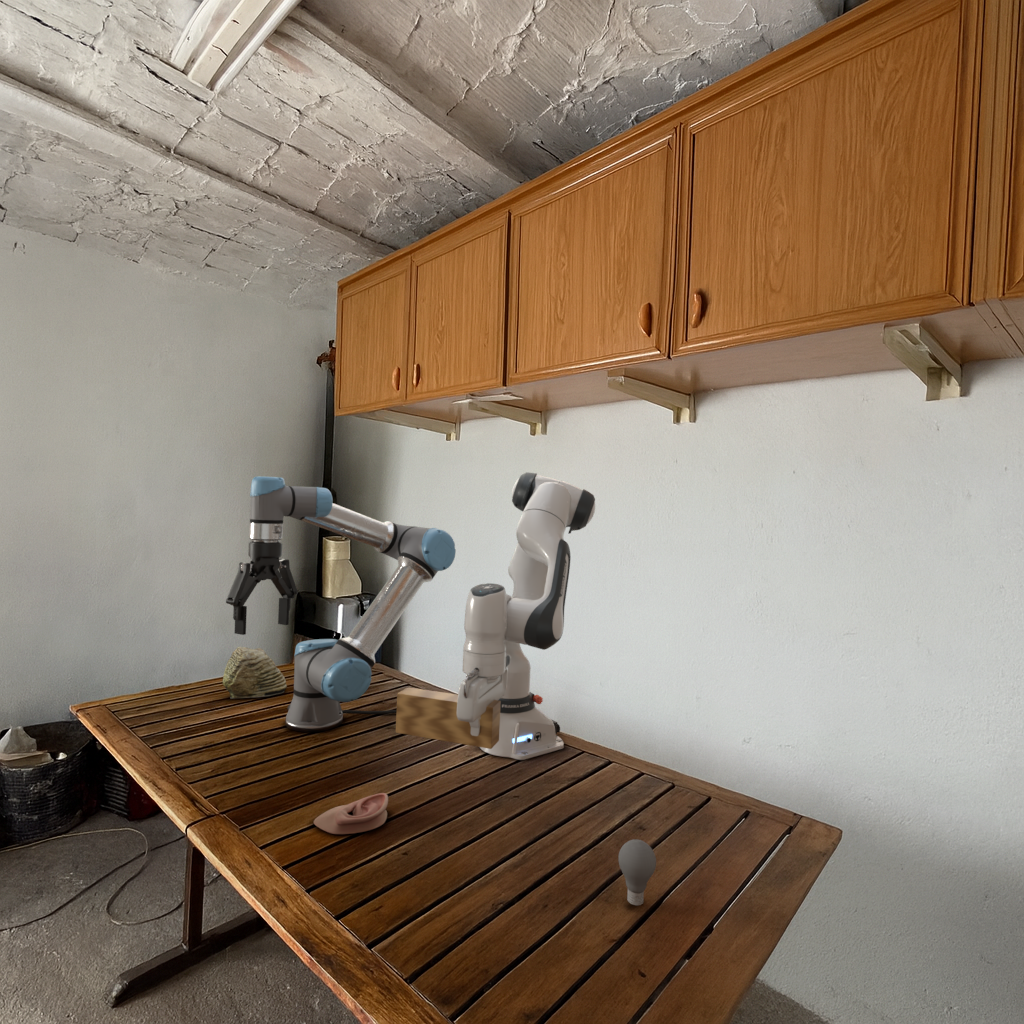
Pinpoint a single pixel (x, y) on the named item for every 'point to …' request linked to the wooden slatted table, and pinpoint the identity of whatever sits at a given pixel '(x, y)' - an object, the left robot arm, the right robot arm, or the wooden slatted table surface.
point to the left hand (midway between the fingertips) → (262, 629)
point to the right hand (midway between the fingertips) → (481, 729)
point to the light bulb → (636, 868)
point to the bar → (443, 718)
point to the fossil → (252, 674)
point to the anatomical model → (355, 816)
